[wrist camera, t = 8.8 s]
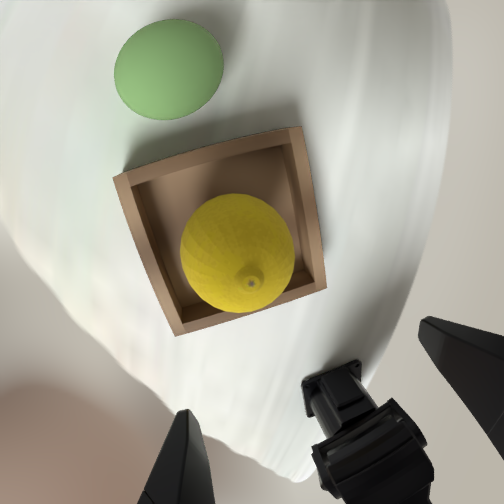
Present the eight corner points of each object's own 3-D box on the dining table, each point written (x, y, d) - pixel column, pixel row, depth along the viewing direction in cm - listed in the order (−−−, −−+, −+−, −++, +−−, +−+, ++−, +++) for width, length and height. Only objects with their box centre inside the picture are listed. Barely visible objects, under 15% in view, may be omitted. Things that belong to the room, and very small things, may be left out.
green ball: (226, 110, 16) (244, 96, 11) (136, 135, 15) (115, 132, 10) (206, 31, 14) (217, -9, 9) (118, 55, 13) (94, 24, 8)
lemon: (284, 241, 19) (338, 298, 12) (212, 284, 19) (226, 364, 12) (243, 168, 17) (281, 181, 10) (165, 216, 17) (145, 264, 10)
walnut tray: (312, 272, 22) (326, 288, 19) (175, 315, 20) (175, 336, 18) (286, 127, 17) (301, 126, 15) (122, 172, 16) (112, 177, 14)
